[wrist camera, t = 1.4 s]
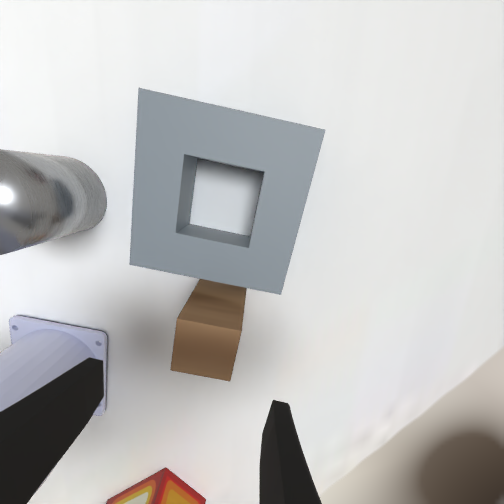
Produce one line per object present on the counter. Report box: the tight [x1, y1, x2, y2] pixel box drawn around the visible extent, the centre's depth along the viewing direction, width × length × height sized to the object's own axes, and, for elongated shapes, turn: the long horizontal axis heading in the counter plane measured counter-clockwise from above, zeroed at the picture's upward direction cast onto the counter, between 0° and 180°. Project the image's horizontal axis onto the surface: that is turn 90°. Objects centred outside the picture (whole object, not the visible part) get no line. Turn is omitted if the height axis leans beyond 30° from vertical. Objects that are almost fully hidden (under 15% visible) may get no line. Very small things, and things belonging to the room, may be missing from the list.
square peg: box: [171, 279, 246, 381], centre depth 16 cm, size 4×4×6 cm
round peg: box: [0, 149, 107, 255], centre depth 14 cm, size 5×5×6 cm
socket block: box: [130, 88, 325, 295], centre depth 15 cm, size 10×10×3 cm
